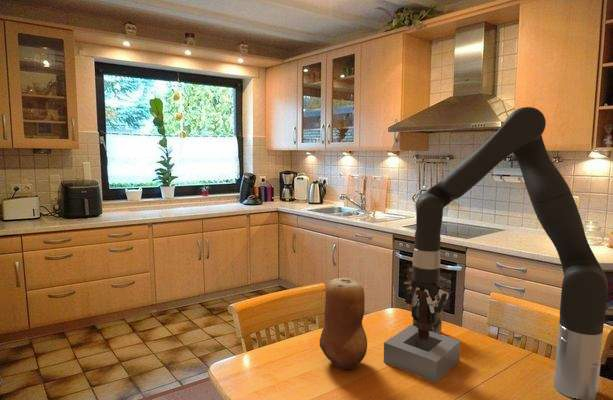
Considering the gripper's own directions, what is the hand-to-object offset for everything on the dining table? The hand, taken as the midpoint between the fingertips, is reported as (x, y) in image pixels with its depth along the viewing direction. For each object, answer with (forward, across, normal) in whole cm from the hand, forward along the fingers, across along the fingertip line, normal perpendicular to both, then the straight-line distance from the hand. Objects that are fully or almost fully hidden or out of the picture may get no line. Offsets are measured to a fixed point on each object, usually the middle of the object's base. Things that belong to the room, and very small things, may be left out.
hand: (423, 321), depth 119 cm
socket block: (+12, 0, 0) cm, 12 cm away
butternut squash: (+12, +16, +17) cm, 27 cm away
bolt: (+6, 0, 0) cm, 6 cm away
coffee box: (+13, +7, -18) cm, 23 cm away
